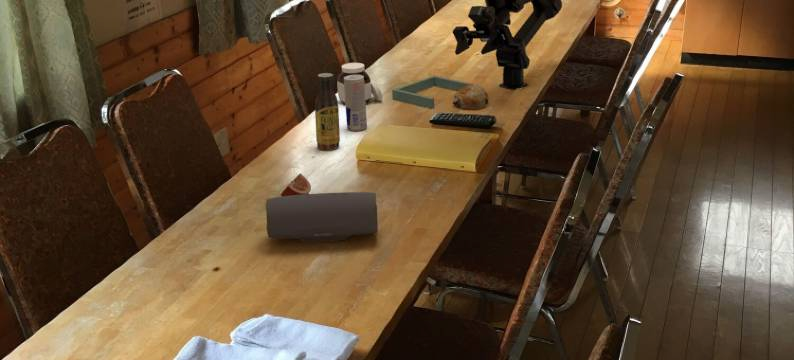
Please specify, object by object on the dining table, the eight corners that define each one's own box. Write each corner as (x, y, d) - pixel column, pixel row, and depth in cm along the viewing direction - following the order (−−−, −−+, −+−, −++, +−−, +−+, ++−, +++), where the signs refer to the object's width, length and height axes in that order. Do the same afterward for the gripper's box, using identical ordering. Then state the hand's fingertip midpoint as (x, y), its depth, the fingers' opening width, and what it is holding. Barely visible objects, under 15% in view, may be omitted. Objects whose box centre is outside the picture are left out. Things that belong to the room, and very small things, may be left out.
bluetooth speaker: (377, 225, 203) (375, 183, 199) (378, 244, 194) (375, 200, 191) (272, 231, 203) (268, 188, 199) (268, 250, 194) (263, 206, 190)
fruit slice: (290, 190, 224) (288, 171, 222) (316, 192, 222) (315, 173, 220) (276, 204, 216) (274, 184, 214) (303, 207, 214) (301, 186, 212)
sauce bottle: (322, 153, 246) (316, 79, 239) (313, 146, 252) (307, 74, 244) (345, 148, 249) (340, 75, 242) (335, 141, 254) (330, 70, 247)
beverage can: (370, 125, 265) (366, 74, 259) (362, 132, 260) (359, 80, 254) (351, 124, 267) (348, 73, 261) (344, 131, 262) (340, 79, 256)
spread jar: (334, 103, 286) (332, 66, 282) (361, 94, 294) (358, 57, 289) (362, 110, 279) (360, 72, 274) (388, 100, 286) (386, 63, 282)
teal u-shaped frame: (434, 84, 300) (434, 75, 298) (473, 93, 289) (473, 84, 288) (392, 99, 287) (392, 89, 286) (431, 108, 277) (431, 99, 275)
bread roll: (479, 122, 274) (491, 99, 271) (448, 107, 275) (459, 84, 271) (483, 112, 283) (495, 89, 280) (453, 97, 284) (463, 74, 280)
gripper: (459, 0, 279) (432, 31, 271) (511, -4, 267) (485, 29, 259) (472, 30, 285) (447, 62, 277) (524, 29, 273) (499, 61, 265)
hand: (468, 53), depth 269 cm, fingers open, 9 cm apart
